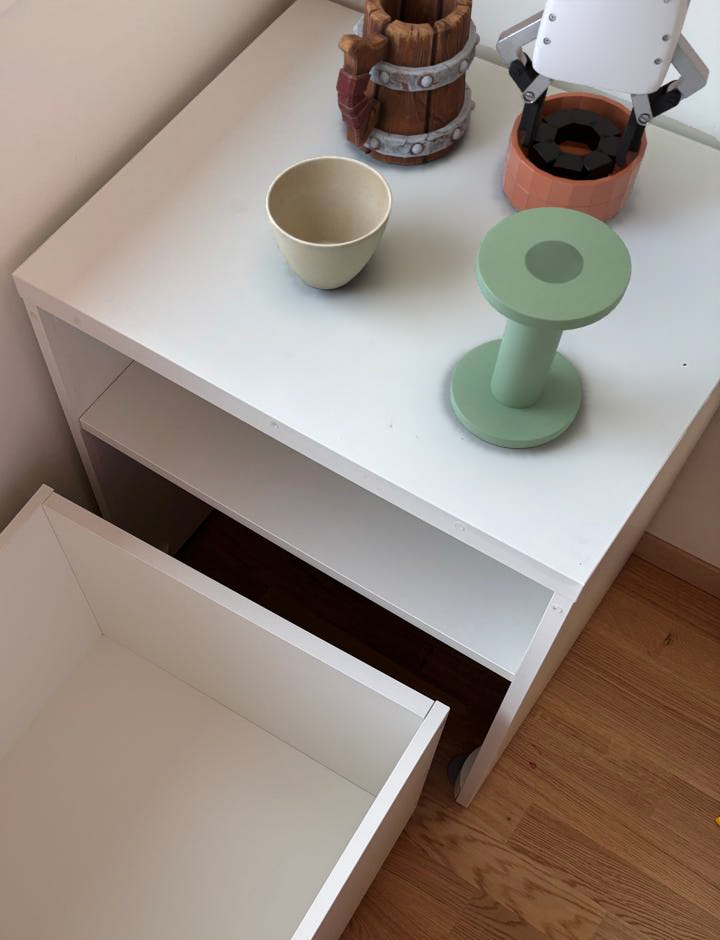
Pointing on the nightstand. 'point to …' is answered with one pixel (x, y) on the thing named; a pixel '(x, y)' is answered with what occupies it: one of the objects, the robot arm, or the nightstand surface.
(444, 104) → the mug
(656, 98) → the robot arm
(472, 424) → the stand
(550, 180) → the bowl
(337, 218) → the flower pot
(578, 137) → the ring
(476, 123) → the nightstand surface
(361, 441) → the nightstand surface
